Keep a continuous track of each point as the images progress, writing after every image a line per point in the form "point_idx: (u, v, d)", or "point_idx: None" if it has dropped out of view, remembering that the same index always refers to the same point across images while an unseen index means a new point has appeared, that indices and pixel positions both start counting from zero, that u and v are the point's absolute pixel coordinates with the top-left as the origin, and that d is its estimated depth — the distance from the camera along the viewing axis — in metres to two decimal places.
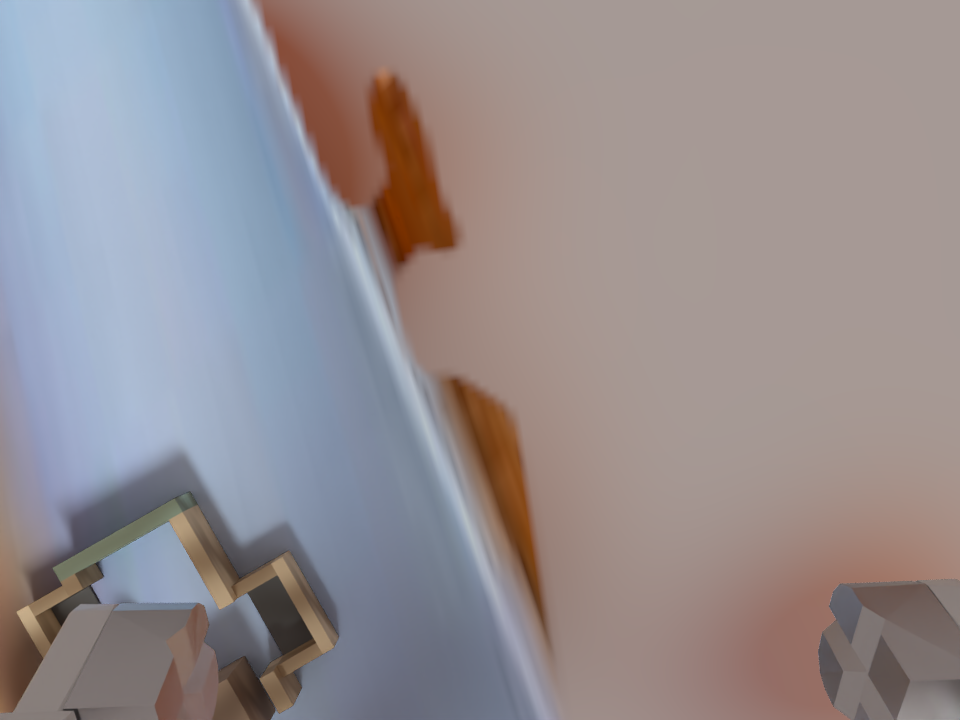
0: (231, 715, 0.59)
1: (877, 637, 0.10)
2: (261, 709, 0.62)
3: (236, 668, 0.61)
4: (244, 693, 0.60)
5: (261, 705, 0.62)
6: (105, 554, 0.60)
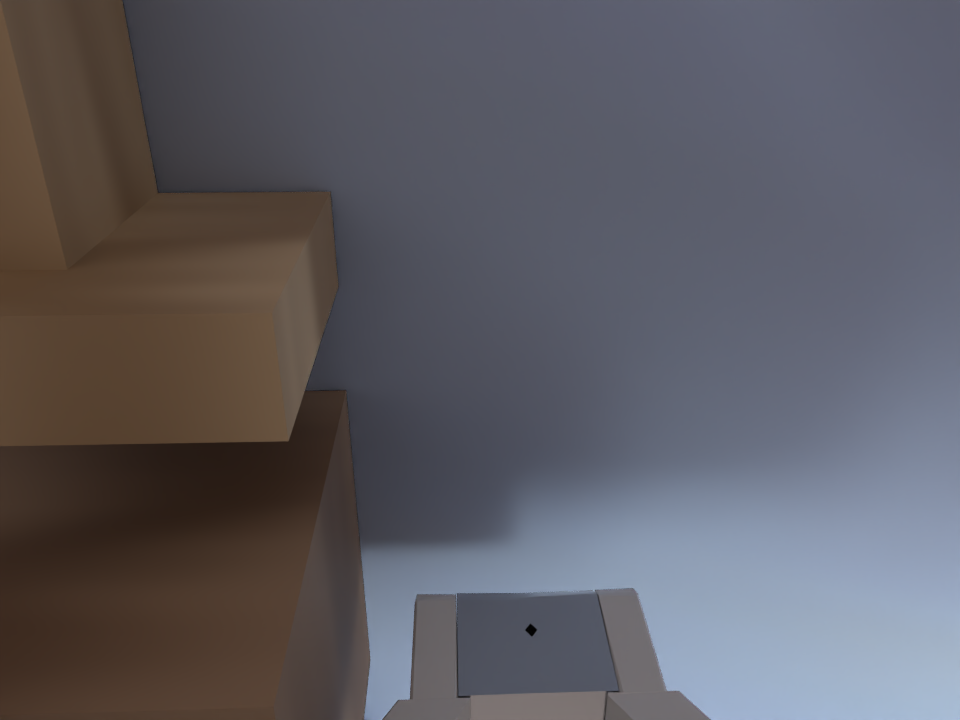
0: None
1: None
2: (210, 500, 0.09)
3: None
4: None
5: (204, 482, 0.09)
6: None
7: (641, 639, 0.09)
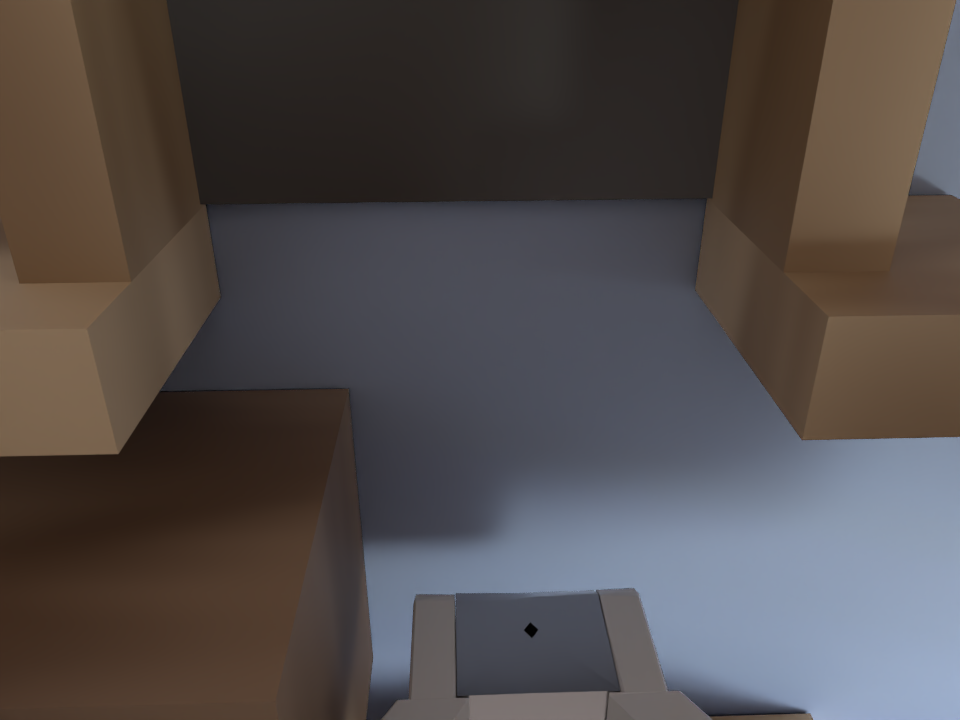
0: None
1: None
2: (213, 496, 0.09)
3: None
4: None
5: (207, 479, 0.09)
6: None
7: (642, 639, 0.09)
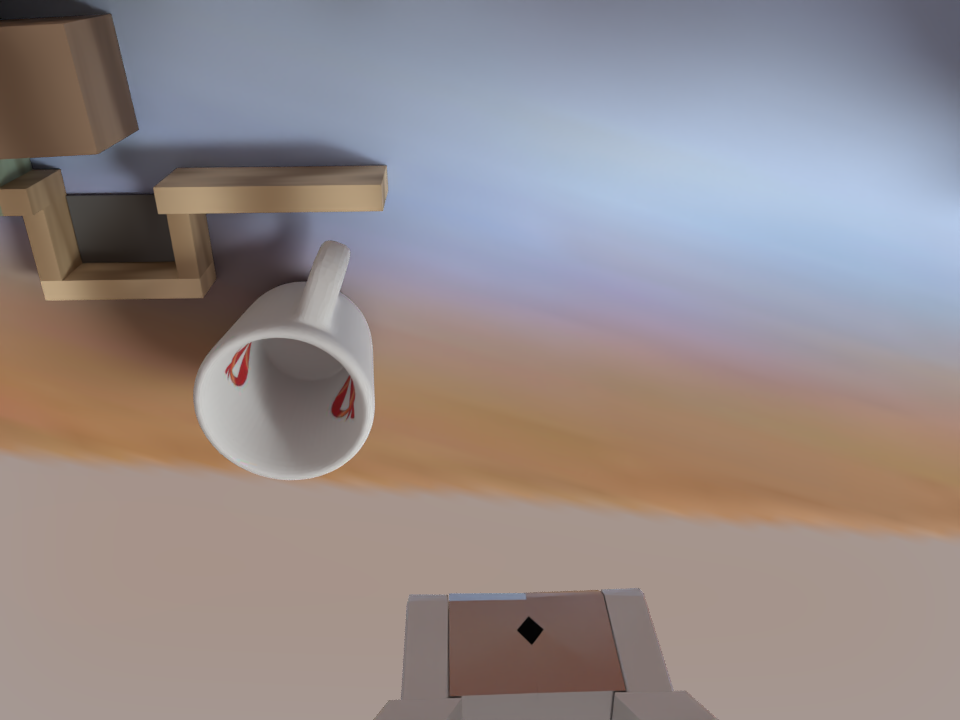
0: (6, 56, 0.31)
1: None
2: (62, 19, 0.33)
3: None
4: None
5: (61, 19, 0.33)
6: None
7: (647, 639, 0.09)
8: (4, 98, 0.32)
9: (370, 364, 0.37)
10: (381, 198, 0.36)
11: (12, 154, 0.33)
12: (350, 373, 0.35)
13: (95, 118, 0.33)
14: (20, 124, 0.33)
